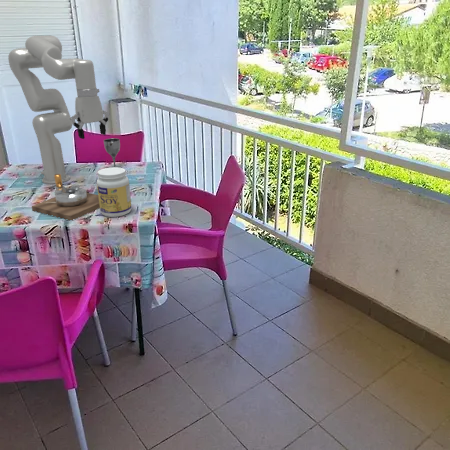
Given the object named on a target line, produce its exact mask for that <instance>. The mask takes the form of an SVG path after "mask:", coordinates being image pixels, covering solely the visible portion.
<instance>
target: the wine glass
mask: <svg viewBox="0 0 450 450" xmlns="http://www.w3.org/2000/svg"><path fill="white" fill-rule="evenodd" d="M120 141H121V140H120V138H117V137H115V138H106V139H103V145H104V149H105V151H106V154H107V153H108V154H109V156H111V158H112V162H113V166H111V167H118V166H116V157H117V155H118V154H119V152H120V149H121V142H120ZM111 167H109V168H111ZM121 167H122V166H119V167H118V168H121Z"/></svg>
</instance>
